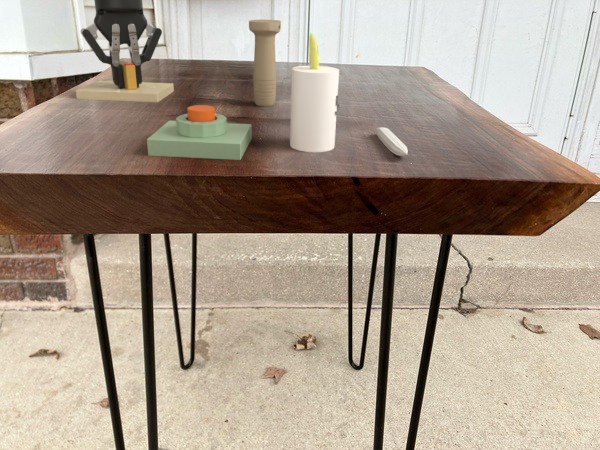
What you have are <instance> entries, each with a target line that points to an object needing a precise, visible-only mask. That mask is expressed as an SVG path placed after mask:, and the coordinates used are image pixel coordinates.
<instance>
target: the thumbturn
mask: <svg viewBox="0 0 600 450" xmlns="http://www.w3.org/2000/svg"><path fill="white" fill-rule="evenodd" d="M120 66H121V67H122V76H123V84H124V88H126V89H128V90H130V89H137V82H136V72H135V65H134V64H133V63H132V62H127V61H125V60H120Z"/></svg>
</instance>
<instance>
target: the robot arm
mask: <svg viewBox="0 0 600 450" xmlns="http://www.w3.org/2000/svg"><path fill="white" fill-rule="evenodd" d="M93 1H94V8H95V15H94V19H93V23H92V24H90V25H89V26H87V27H84V28H81V29H80V34H81V36H82V37H83V39H84V40H85V41H86V43H87V45H88V46H89V47H90V49H91V51H93V53H94V54H95V56H96V58H97V59H98V60H99V61H100V62H101V63H102V64H107V65H110V68H111V75H112V81H113V82H114V84H115V85H117V86H118V88H119V89H124V84H123V76H122V67H121V66H120V61H121V60H120V56H121V55H120V53H121V46H122V45H126V46H127V50H128V52H129V53H128V54H129V59H130V63H133V64H134V65H135V72H136V82H137V88H138V87H139V84H141V83H142V82H143V75H142V64H144V63H146V62H149V61H151V60H152V57H153V55H154V53H155V50H156V48H157V45H158V43H159V41H160V39H161V36H162V34H163V30H162V29H161V28H159V27H156V26H153V25H152V24H150V23H148V20H147V18H146V16H145V13H144V7H143V6H144V5H143V0H93ZM98 31H99V32H100V34H101V35H102V37H104V38H105V40H106V41H107V42H108V53H109V55H107V54H106V53H105V52H104V50H103V48H102V47H101V46H100V44H99V43H98V42H97V41H98V40H97V39H98V37H99V36H98V33H97V32H98ZM144 32H145V35H146V37H147V39H146V42H145V44H144V46H143V49H142V51H141V53H140V46H139V40H140V39H141V37H142V35H143V33H144Z"/></svg>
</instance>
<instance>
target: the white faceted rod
mask: <svg viewBox="0 0 600 450" xmlns="http://www.w3.org/2000/svg"><path fill="white" fill-rule="evenodd" d="M375 132H376V136H377V138H378V140H379V141H381V143H382V144H383V146H384V147H386V148H387V149H388V151H390V152H391V153H392V154H395V155H396V156H405V157H406V156H408V146H407V145H405V143H404V142H402V140H400V138H398V137H397V135H396V134H394V133H393V132H392V130H390V129H389V128H388V127H384V126H380V127H377V128H376V131H375Z"/></svg>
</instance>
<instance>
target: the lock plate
mask: <svg viewBox="0 0 600 450" xmlns="http://www.w3.org/2000/svg"><path fill="white" fill-rule="evenodd" d="M174 87H175V86H174V83H173V82H172V83H169V82H151V81H150V82H149V81H148V82H147V81H142V83H141V84H139V87H138V88H137V89H130V90H128V89H126V88H124V89H119V88H118V86H117V85H115V84H114V82H113V80H100V79H99V80H97V81H94V82H92V83H90V84H88V85H85V86H83V87H81V88H80V87H79V88H78V89H76V90H75V95H76V100H93V101H94V100H96V101H118V102H119V101H121V102H139V103H142V102H143V103H159V102H160V101H163V100H164V99H165V98H166V97H168V96H169V95H171V94H172V93H173V92H175V88H174Z"/></svg>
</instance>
